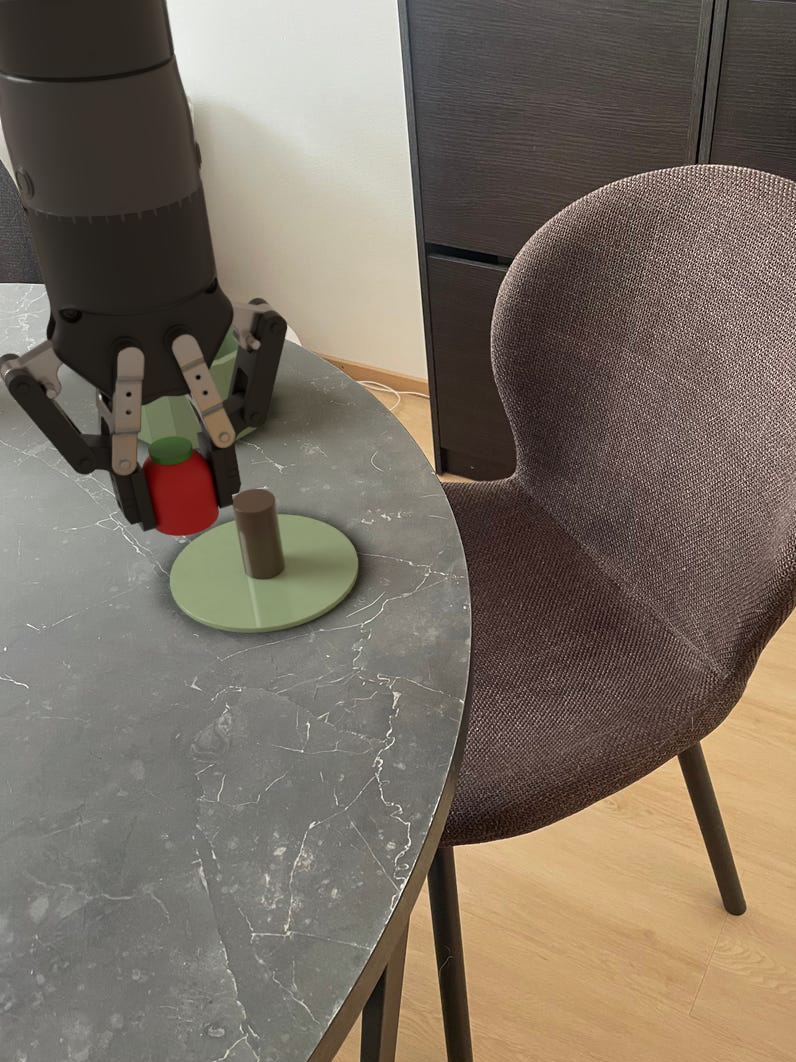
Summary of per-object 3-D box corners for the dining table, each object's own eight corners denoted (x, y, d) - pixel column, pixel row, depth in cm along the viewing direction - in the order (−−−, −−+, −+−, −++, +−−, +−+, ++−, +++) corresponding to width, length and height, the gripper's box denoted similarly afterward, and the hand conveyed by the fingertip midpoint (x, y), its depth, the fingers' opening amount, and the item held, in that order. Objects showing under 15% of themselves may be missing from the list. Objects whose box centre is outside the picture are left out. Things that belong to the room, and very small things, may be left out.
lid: (139, 623, 69) (116, 542, 64) (220, 515, 78) (205, 438, 74) (321, 655, 67) (310, 573, 62) (383, 540, 76) (377, 462, 71)
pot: (104, 446, 85) (81, 361, 80) (168, 380, 94) (151, 300, 89) (235, 464, 83) (220, 379, 78) (289, 396, 92) (278, 315, 87)
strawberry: (138, 530, 55) (120, 460, 52) (169, 493, 58) (154, 424, 55) (201, 541, 54) (186, 470, 51) (230, 502, 57) (217, 434, 54)
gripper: (236, 129, 49) (279, 444, 61) (-83, 178, 44) (31, 514, 55) (300, 175, 45) (333, 508, 56) (-49, 237, 39) (68, 591, 51)
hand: (183, 509), depth 56 cm, fingers closed on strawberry, 3 cm apart
